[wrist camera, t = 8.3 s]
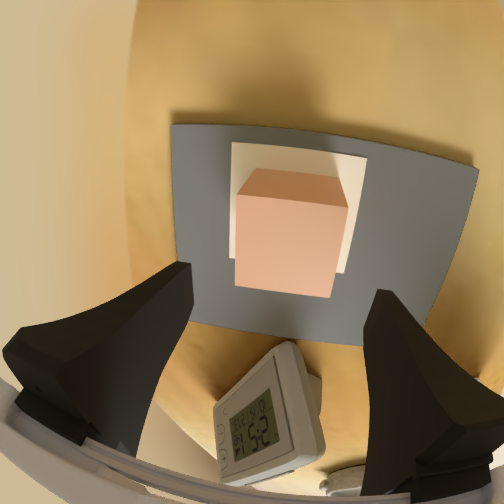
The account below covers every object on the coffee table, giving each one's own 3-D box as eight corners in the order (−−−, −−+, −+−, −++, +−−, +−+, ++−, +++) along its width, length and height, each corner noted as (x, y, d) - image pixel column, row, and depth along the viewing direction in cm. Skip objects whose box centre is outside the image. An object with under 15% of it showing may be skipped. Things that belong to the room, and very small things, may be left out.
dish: (402, 456, 36) (403, 481, 32) (394, 477, 42) (394, 497, 38) (318, 465, 40) (315, 490, 36) (325, 484, 46) (323, 504, 42)
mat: (473, 166, 15) (480, 170, 14) (408, 343, 23) (410, 350, 23) (175, 123, 18) (170, 125, 17) (187, 314, 26) (183, 320, 25)
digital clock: (291, 326, 25) (275, 441, 15) (356, 373, 26) (359, 472, 17) (194, 389, 32) (164, 465, 23) (252, 421, 34) (235, 493, 25)
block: (338, 177, 17) (348, 207, 13) (327, 250, 19) (329, 298, 15) (255, 167, 18) (236, 194, 13) (252, 241, 20) (234, 285, 16)
